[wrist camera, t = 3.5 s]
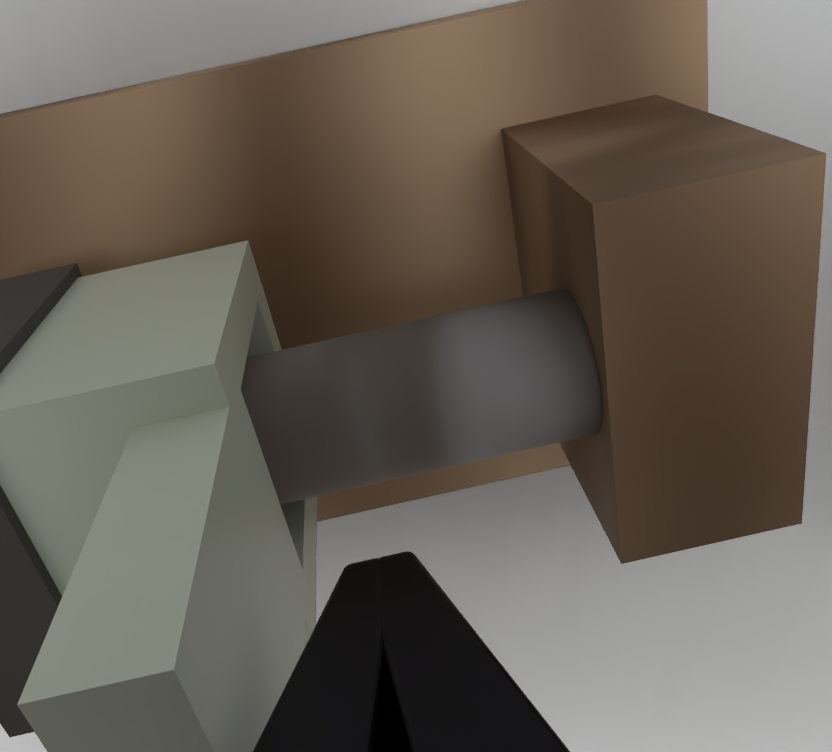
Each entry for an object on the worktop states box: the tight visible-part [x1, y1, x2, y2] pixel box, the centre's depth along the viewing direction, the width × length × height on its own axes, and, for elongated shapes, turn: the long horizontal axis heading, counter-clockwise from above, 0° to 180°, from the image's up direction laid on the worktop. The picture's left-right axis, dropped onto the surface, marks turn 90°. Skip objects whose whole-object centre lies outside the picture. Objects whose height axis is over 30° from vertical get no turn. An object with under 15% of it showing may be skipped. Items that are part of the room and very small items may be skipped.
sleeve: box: [0, 240, 317, 752], centre depth 10 cm, size 3×5×9 cm, turn 11°
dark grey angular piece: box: [0, 263, 82, 737], centre depth 12 cm, size 2×5×5 cm, turn 11°
